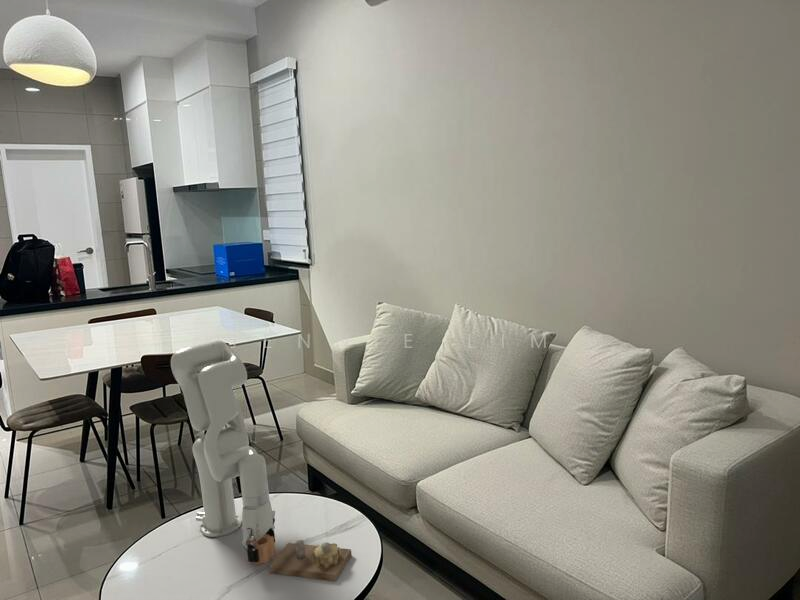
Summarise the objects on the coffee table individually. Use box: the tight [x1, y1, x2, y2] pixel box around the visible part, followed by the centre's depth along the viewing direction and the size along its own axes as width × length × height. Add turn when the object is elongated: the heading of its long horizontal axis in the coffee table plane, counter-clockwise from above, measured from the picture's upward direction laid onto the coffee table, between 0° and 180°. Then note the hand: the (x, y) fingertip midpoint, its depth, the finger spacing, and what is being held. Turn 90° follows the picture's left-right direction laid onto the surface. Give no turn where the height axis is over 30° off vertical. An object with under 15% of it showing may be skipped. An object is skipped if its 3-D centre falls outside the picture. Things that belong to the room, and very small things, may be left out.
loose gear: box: [250, 534, 277, 565], centre depth 178 cm, size 7×7×5 cm
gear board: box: [268, 539, 353, 582], centre depth 172 cm, size 20×12×6 cm, turn 74°
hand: (262, 551), depth 178 cm, fingers open, 9 cm apart
